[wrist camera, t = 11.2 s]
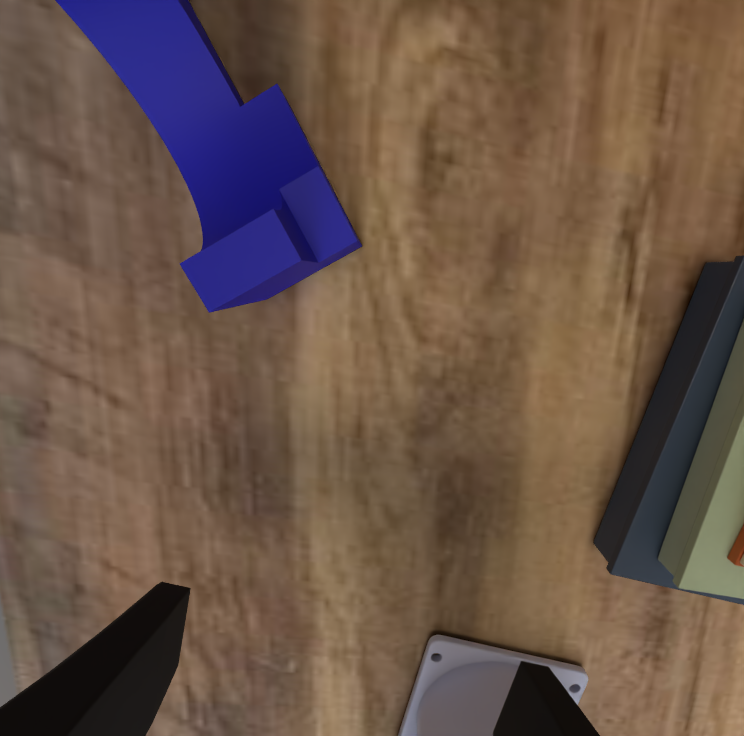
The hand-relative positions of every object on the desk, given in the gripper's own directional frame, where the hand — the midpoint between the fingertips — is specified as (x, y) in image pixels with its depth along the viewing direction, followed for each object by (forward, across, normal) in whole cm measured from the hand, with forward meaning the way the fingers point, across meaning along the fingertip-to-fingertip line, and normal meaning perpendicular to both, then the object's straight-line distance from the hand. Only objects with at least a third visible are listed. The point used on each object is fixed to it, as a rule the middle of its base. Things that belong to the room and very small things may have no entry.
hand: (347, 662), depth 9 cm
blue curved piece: (+11, +8, -12) cm, 18 cm away
